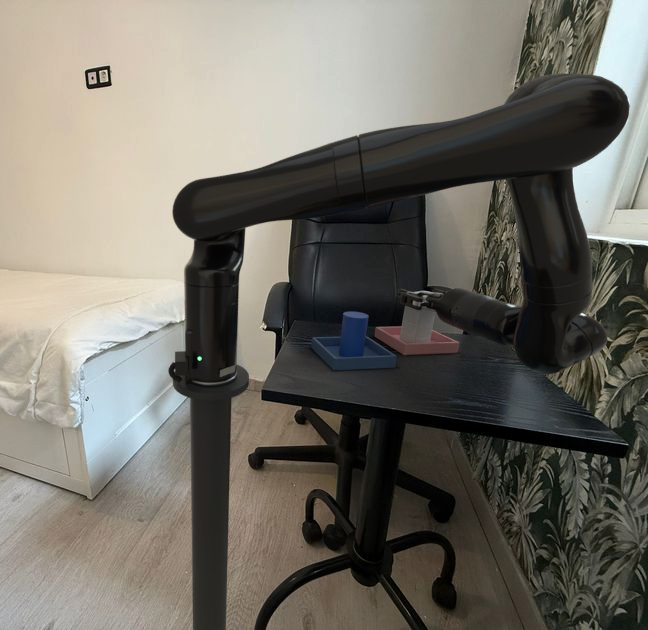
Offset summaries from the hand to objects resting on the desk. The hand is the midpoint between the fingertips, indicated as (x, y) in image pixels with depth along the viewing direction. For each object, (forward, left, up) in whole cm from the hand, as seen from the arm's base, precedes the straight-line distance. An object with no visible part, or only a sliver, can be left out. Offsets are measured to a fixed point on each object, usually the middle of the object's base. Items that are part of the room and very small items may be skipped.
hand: (416, 292), depth 84 cm
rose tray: (0, -2, -12) cm, 12 cm away
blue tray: (-19, -8, -12) cm, 24 cm away
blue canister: (-19, -8, -12) cm, 24 cm away
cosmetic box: (0, -2, -12) cm, 12 cm away
